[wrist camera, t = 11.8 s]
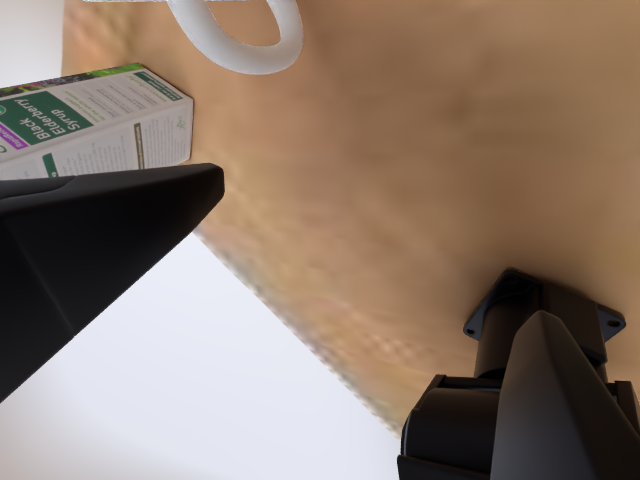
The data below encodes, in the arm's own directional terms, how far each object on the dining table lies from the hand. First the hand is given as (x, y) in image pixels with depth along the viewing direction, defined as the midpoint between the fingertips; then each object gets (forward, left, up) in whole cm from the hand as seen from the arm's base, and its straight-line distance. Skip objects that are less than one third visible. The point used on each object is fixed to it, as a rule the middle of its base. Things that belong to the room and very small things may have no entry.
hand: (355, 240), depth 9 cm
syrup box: (-6, +21, -12) cm, 25 cm away
